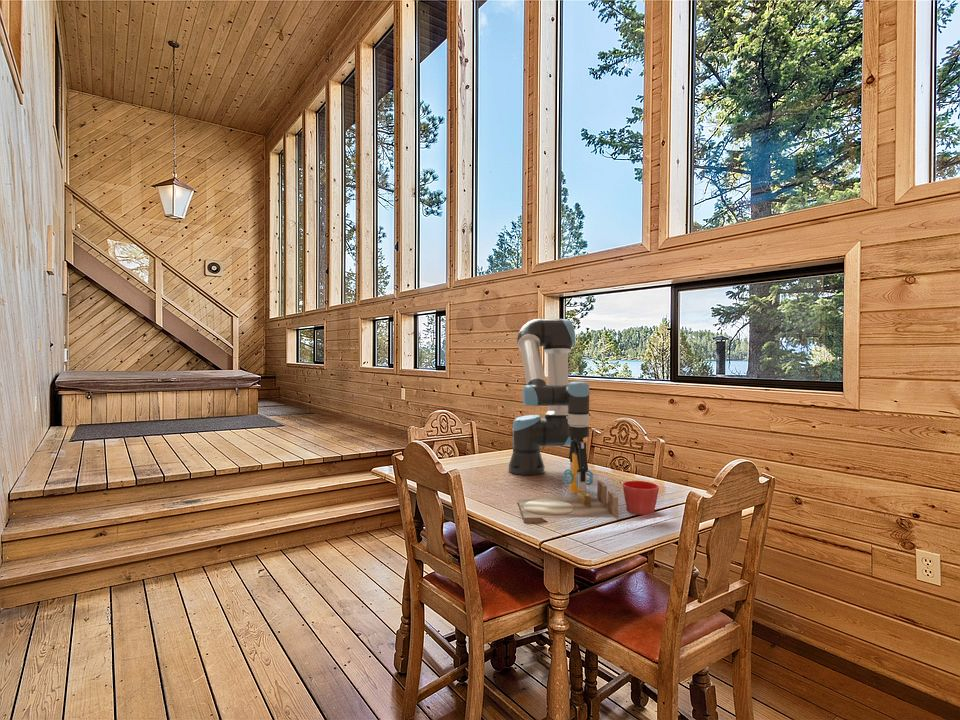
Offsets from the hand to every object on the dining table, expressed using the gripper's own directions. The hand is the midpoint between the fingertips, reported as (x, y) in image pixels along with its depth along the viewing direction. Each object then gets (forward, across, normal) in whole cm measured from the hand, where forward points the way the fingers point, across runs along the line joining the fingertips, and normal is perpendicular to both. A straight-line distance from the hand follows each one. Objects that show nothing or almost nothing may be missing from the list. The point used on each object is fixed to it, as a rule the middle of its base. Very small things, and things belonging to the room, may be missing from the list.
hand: (577, 485), depth 188 cm
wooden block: (+2, +14, -1) cm, 14 cm away
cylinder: (+4, 0, 0) cm, 4 cm away
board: (+4, +18, -8) cm, 20 cm away
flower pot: (+4, +22, +15) cm, 27 cm away
